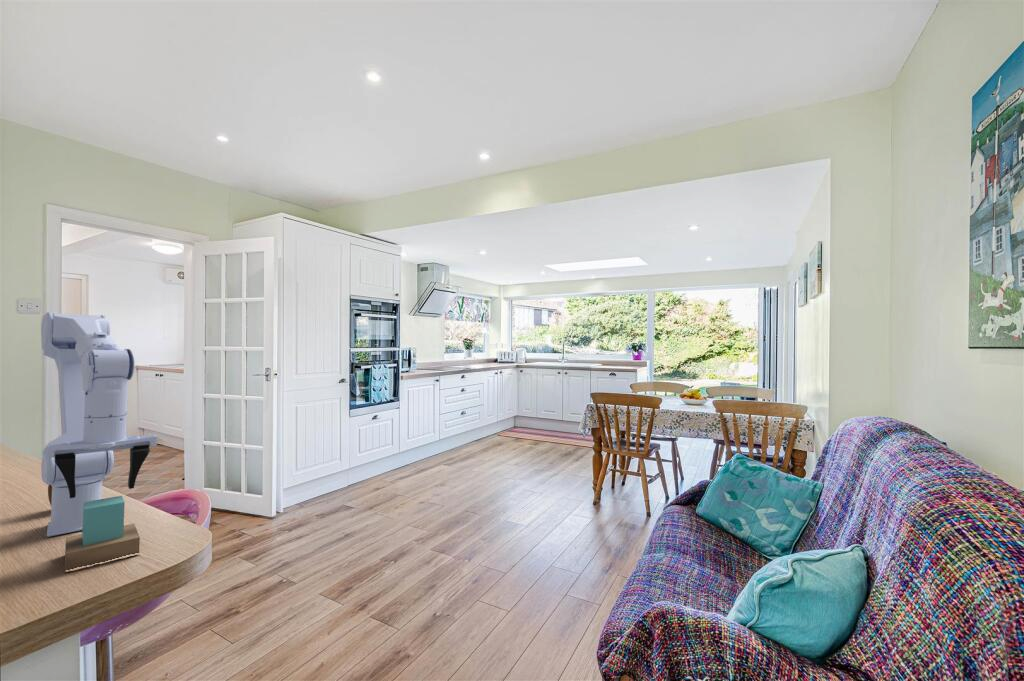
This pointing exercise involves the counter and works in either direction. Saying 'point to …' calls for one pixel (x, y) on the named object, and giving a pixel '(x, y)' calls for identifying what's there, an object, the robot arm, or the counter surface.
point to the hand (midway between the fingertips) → (102, 491)
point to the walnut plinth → (100, 549)
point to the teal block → (103, 520)
